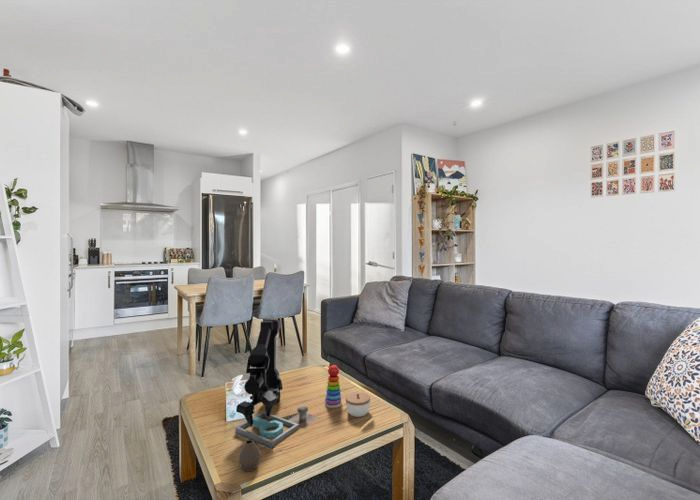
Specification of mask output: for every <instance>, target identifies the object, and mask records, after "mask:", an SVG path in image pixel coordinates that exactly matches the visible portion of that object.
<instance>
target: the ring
mask: <svg viewBox="0 0 700 500" xmlns="http://www.w3.org/2000/svg"><path fill="white" fill-rule="evenodd" d="M252 427H254V428H256V429H258V430H259V432H258V433H259V434H258V435H259V436H262V437H264V438H267V439H269V438H270V439H271V438H276V437H277V436H279V435H280V434H282V433H283V432H284V424H283V423H282V422H279V421H276V420H275V421H274V420H269V421H268V420H267V419H266V418H265V419H264V418H263V417H262V418H259V417H257V418H255V419H253V424H252ZM268 428H269V429H270V428H276V429H274V430H273V429H272V430H267V429H268Z"/></svg>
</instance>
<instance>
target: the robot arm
mask: <svg viewBox="0 0 700 500" xmlns="http://www.w3.org/2000/svg"><path fill="white" fill-rule="evenodd" d="M281 323H282V322H281V320H279V319H278V318H264V319H263V321H260V324H259V325H260V327H259V328H260V329H259V333H258V338H257V341H256V344H255V347H254V348H252V349H251V352H250V353H249V355H248V357H247V364H246V371H245V374H249V377H248V379H247V380H246V382H245V383H244V386H243V387H244V388H243V389H244V391H245V392H246V393H247V394H248V395H250V396H249V399H250V400H251V401H250V402H249V401H245V400H244V401H242V402H240V403H238V404H237V405H236V412H237V413H239V414H241V415H243V417H244V418H245V420H246V421H247V422H248V424H249V427H250V428H252V427H253V417H254V414H255V411H254V410H255V406H258V405H259V404H261V403H262V404H263V405H264V407H265V412H266V414H267V417H269V416H270V414H271V413H272V409H273V407H274V405H276V404H278V403H280V402H281V391H282V390H283V382H282V380H281V378H280V372H279V371H278V369H277V336H278V335H279V333H280V329H281V326H282V325H281Z"/></svg>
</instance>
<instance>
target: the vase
mask: <svg viewBox="0 0 700 500" xmlns="http://www.w3.org/2000/svg"><path fill="white" fill-rule="evenodd" d="M260 460H261V452H260V448H259V446H258V445H257V443H256V442H253V440H249V439H247V440H246V441H245V442H244V445H243V446H242V447H241V449H240V451H239V454H238V463H239V464H238V465H239V466H240V468H241V469H242V470H244V471H246V472H251V471H253V470H255V469H256V468H257V467H258V465H259V463H260Z"/></svg>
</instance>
